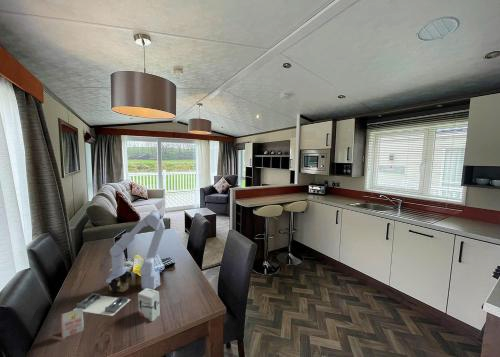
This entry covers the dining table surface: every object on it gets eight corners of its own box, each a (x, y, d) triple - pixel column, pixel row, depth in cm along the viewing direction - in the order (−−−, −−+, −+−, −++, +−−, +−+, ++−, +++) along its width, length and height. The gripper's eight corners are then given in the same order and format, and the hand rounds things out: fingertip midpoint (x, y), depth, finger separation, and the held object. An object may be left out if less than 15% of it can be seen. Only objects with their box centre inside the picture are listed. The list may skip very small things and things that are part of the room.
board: (131, 301, 111) (130, 299, 111) (112, 317, 100) (112, 315, 99) (94, 296, 115) (94, 294, 115) (72, 311, 103) (72, 309, 103)
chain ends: (127, 301, 110) (127, 297, 110) (114, 313, 101) (114, 309, 101) (92, 296, 113) (92, 293, 113) (76, 307, 105) (76, 303, 104)
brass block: (128, 289, 121) (128, 282, 121) (123, 293, 118) (123, 286, 118) (114, 288, 123) (114, 281, 123) (109, 291, 119) (109, 284, 119)
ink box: (138, 317, 100) (137, 293, 99) (146, 310, 105) (146, 287, 104) (152, 322, 97) (151, 297, 96) (160, 315, 102) (159, 291, 101)
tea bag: (63, 334, 90) (62, 311, 89) (83, 327, 94) (82, 305, 93) (61, 340, 87) (60, 317, 86) (83, 333, 91) (81, 310, 90)
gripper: (121, 258, 127) (122, 280, 128) (100, 270, 113) (101, 295, 114) (132, 259, 126) (132, 281, 127) (112, 272, 112) (113, 296, 113)
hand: (119, 288), depth 120 cm, fingers open, 6 cm apart
